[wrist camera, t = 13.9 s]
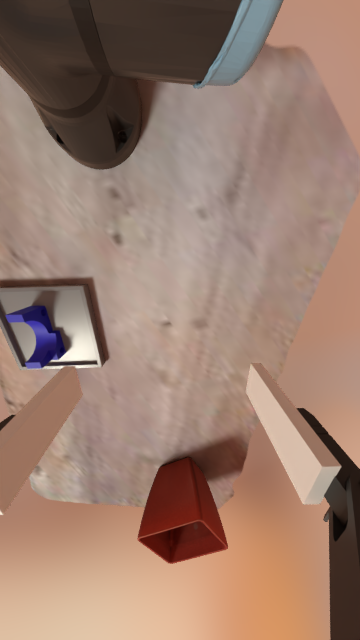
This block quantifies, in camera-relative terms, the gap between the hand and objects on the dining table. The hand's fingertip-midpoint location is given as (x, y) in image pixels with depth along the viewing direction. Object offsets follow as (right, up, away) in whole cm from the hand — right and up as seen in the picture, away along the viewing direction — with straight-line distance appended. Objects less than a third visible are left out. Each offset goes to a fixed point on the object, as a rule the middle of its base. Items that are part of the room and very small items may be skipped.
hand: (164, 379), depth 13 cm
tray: (-28, +3, +27) cm, 39 cm away
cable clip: (-29, +2, +26) cm, 39 cm away
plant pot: (+2, -50, +49) cm, 70 cm away
